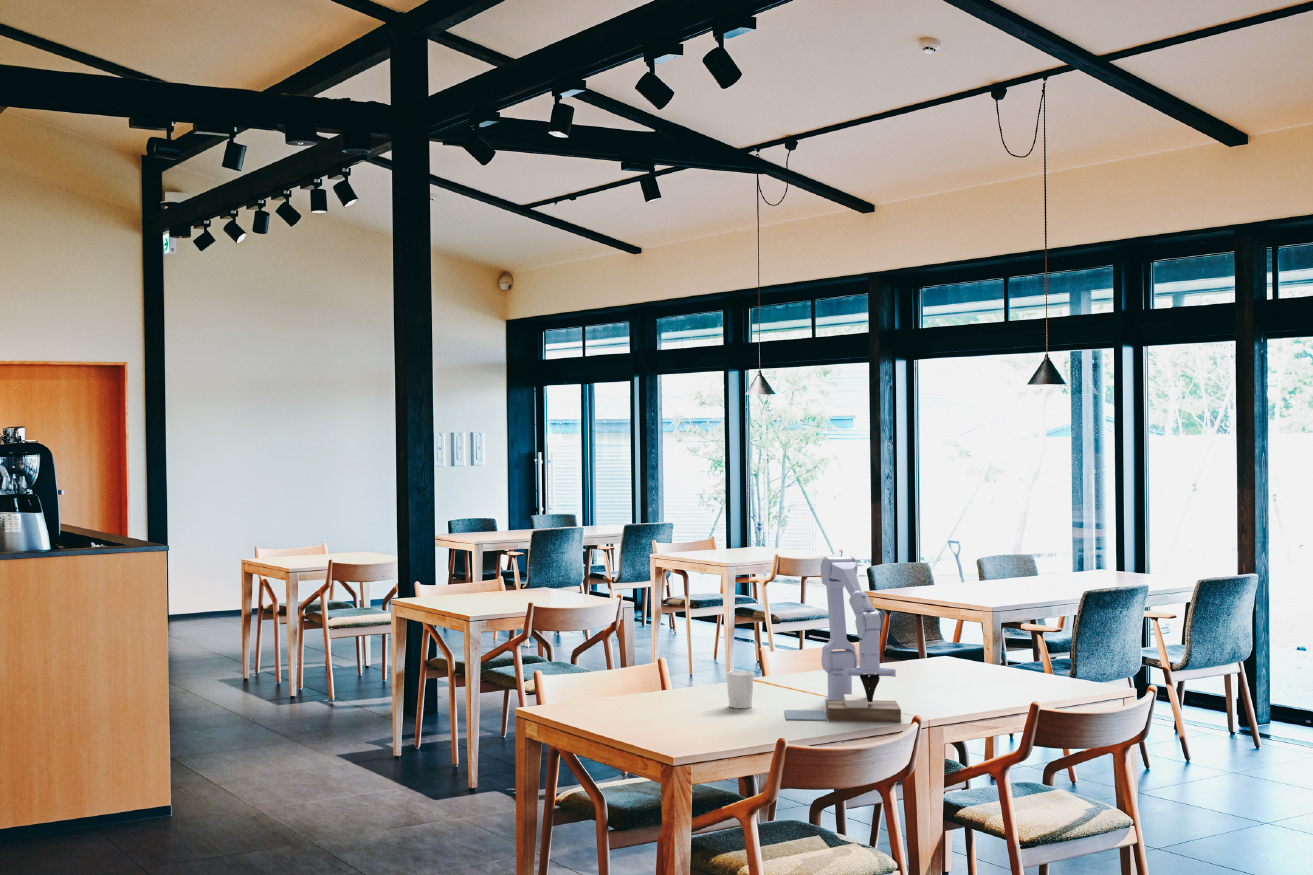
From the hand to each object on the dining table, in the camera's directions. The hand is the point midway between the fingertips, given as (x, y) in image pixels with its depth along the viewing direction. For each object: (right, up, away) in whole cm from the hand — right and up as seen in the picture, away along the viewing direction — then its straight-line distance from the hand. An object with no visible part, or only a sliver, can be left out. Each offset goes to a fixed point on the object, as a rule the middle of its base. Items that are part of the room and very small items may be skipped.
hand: (869, 701), depth 332 cm
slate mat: (-18, -5, +1) cm, 19 cm away
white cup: (-36, -5, +15) cm, 39 cm away
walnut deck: (-2, -4, 0) cm, 5 cm away
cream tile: (-4, -1, 0) cm, 4 cm away
